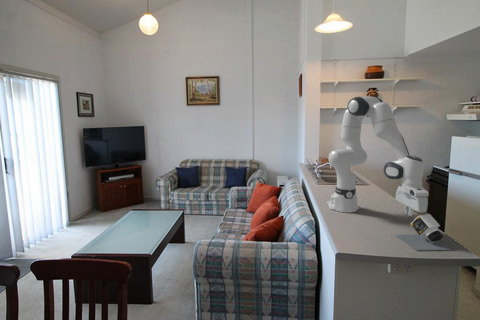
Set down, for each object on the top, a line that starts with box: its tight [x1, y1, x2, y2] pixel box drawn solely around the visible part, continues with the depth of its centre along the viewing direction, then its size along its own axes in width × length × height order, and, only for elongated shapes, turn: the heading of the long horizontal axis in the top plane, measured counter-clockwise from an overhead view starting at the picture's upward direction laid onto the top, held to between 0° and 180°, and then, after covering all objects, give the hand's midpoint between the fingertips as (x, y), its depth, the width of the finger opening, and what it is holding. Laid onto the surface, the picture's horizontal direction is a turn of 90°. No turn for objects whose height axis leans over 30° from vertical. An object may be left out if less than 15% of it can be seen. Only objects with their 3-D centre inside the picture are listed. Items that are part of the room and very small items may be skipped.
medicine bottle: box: [410, 213, 444, 243], centre depth 134 cm, size 7×7×12 cm
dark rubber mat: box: [395, 233, 452, 252], centre depth 134 cm, size 16×16×1 cm
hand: (408, 214), depth 144 cm, fingers closed
